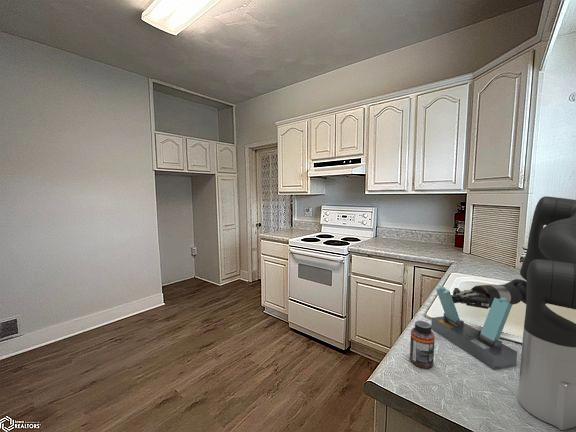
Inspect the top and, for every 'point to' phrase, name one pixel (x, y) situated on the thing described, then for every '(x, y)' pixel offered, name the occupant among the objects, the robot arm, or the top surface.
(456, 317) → the outer lever
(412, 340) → the supplement bottle
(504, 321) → the inner lever
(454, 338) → the switch box
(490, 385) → the top surface
